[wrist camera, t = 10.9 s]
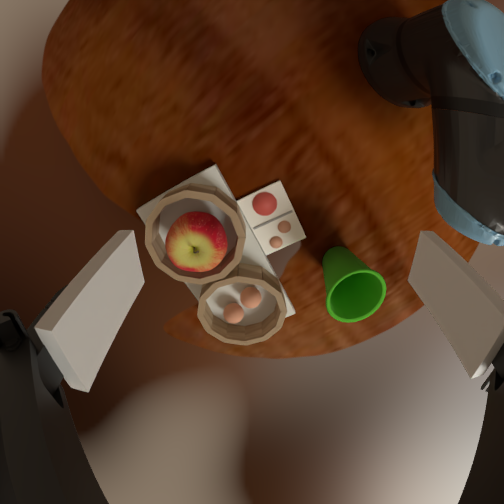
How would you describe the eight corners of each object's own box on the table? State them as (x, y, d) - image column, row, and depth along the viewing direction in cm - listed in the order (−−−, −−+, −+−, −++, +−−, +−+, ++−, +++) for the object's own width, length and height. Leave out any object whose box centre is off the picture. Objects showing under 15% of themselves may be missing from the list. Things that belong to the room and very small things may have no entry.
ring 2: (237, 247, 44) (236, 260, 40) (299, 295, 48) (303, 309, 44) (185, 301, 48) (181, 316, 45) (246, 339, 53) (246, 355, 49)
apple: (240, 225, 42) (239, 257, 33) (206, 263, 45) (198, 301, 36) (196, 191, 39) (181, 215, 30) (164, 233, 42) (144, 266, 33)
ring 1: (189, 164, 37) (183, 169, 34) (263, 225, 42) (265, 236, 38) (137, 234, 42) (128, 245, 39) (206, 284, 47) (203, 299, 43)
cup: (305, 280, 48) (319, 322, 38) (316, 231, 44) (335, 267, 34) (353, 283, 49) (374, 322, 39) (366, 237, 44) (395, 271, 35)
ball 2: (249, 279, 46) (250, 291, 43) (265, 290, 47) (266, 303, 44) (235, 292, 47) (235, 305, 44) (251, 303, 48) (251, 316, 45)
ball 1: (232, 295, 48) (231, 308, 45) (248, 306, 49) (248, 319, 46) (219, 307, 49) (218, 320, 46) (235, 317, 50) (234, 330, 47)
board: (138, 207, 41) (136, 210, 40) (215, 163, 39) (215, 165, 38) (227, 334, 54) (227, 339, 52) (294, 309, 51) (295, 313, 50)
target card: (236, 200, 41) (236, 201, 41) (279, 180, 40) (280, 180, 40) (265, 254, 46) (265, 255, 45) (305, 236, 44) (306, 237, 44)
